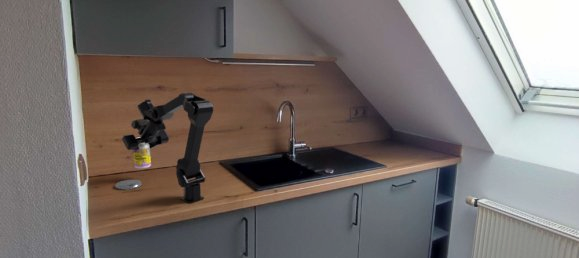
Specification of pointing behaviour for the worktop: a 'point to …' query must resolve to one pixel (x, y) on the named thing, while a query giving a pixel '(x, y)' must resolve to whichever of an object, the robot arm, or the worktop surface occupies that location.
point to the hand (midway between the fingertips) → (140, 150)
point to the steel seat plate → (128, 184)
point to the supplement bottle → (142, 156)
